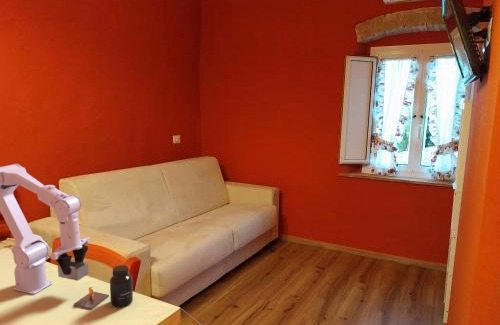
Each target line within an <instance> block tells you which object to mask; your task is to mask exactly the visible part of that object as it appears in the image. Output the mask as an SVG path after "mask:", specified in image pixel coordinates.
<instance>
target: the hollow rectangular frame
mask: <svg viewBox="0 0 500 325" xmlns="http://www.w3.org/2000/svg"><path fill="white" fill-rule="evenodd" d="M57 273H58V277H59V278H63V279H67V280H71V281H72V280H74V281H79V280H81V279H83V278H84V277H86V276H88V275H89V264H88V262H84V261H83V262H79V261H75V259H74V260H72V259H71V261H70V274H69V275H65V274H63V272H62V269H61V267H60V265H59V264H58V265H57Z"/></svg>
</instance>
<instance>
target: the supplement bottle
mask: <svg viewBox="0 0 500 325" xmlns="http://www.w3.org/2000/svg"><path fill="white" fill-rule="evenodd" d="M129 270H130V269H129V266H127V265H125V264H120V265H117V266H115V267H113V268H112V276H111V277H110V279H109V288H110V290H109V292H110V295H109V297H110V305H111V306H112V307H113V308H117V309H119V308H120V309H121V308H125V307H128V306H130V305H131V304H132V303H133V301H134V293H133V291H134V290H133V289H134V288H133V275H131V273H130V271H129Z"/></svg>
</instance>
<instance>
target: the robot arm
mask: <svg viewBox="0 0 500 325" xmlns="http://www.w3.org/2000/svg"><path fill="white" fill-rule="evenodd" d="M19 186H21V187H23V188H25V189H26V190H29V191H31V192H32V193H33V194H36V196H37V199H38V200H39V201H40V202H42V203H44V204H45V205H47V206H49V207H50V208H52V209H53V213H54V214H55V215H56V217H57V218H56V219H57V221H58V225H59V234H60V235H59V237H60V246H59V247H58V248H56V249H55V250H53V251H52V252H50V246H49V245H48V243H47V242H46V241H45V240H44V239H43V237H42V236H40V235H38V234H34V233H33V231H32V229H31V227H30V225H29V223H28V221H27V219H26V217H25V215H24V213H23V211H22V209H21V207H20V205H19V203H18V201H17V199H16V197H15V195H14V191H15V190H16V189H17V188H18V187H19ZM81 208H82V202H81V199H80V198H79V197H78V196H77V195H76V194H67V193H66V192H63V191H61V190H59V189H57V188H56V186H55V185H54V184H47V185H44V184H43V183H42V182H40V181H39V180H38V179H36V178H35V177H33V176H32V175H30V174H29V173H28V172H27V170H26V167H23V166H22V165H20V164H19V163H13V164H10V165H9V164H8V165H5V166H0V214H1V215H2V217H3V218H4V221H5V223H6V225H7V227H8V229H9V231H10V232H11V234H12V236H13V239H14V241H15V243H14V245H13V246H12V247H11V253H12V255H13V261H14V264H15V268H14V281H15V287H14V288H13V290H15V291H18V292H23V293H26V294H31V295H35V294H37V293H39V292H40V291H42V290H44V289H46V288H48V287H50V286H51V285H53V283H54V281H50V280H47V279H48V277H47V269H46V260H47V257H48V256H49V254H50V260H55V261H56V263H57V264H58V265H60V267H61V269H62V272H63V274H65V275H69V274H70V261H71V260H72V255H69V254H68V253H70V252H72V254H73V257H74V261H79V262H84V259H85V258H86V257H85V256H86V253H87V252H88V250H89V243H90V237H88V236H84V237H82V238H81V234H80V221H79V219H80V218H79V211H80V210H81ZM87 244H88V245H87Z"/></svg>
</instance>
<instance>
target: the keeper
mask: <svg viewBox="0 0 500 325" xmlns="http://www.w3.org/2000/svg"><path fill="white" fill-rule="evenodd" d="M109 297H110V295H109V294H108V293H107V294H106V293H102V292H97V291H94V287H93V286H90V287H88V294H85V295H84V296H83V297H82V298H80V299H79V300H77V301H76V302H74V303H73V306H74V307H79V308H83V309H87V310H93V309H95V308H96V307H97V306H98V305H100V304H101V303H102V302H103V301H105V300H106V299H108V298H109Z"/></svg>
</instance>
